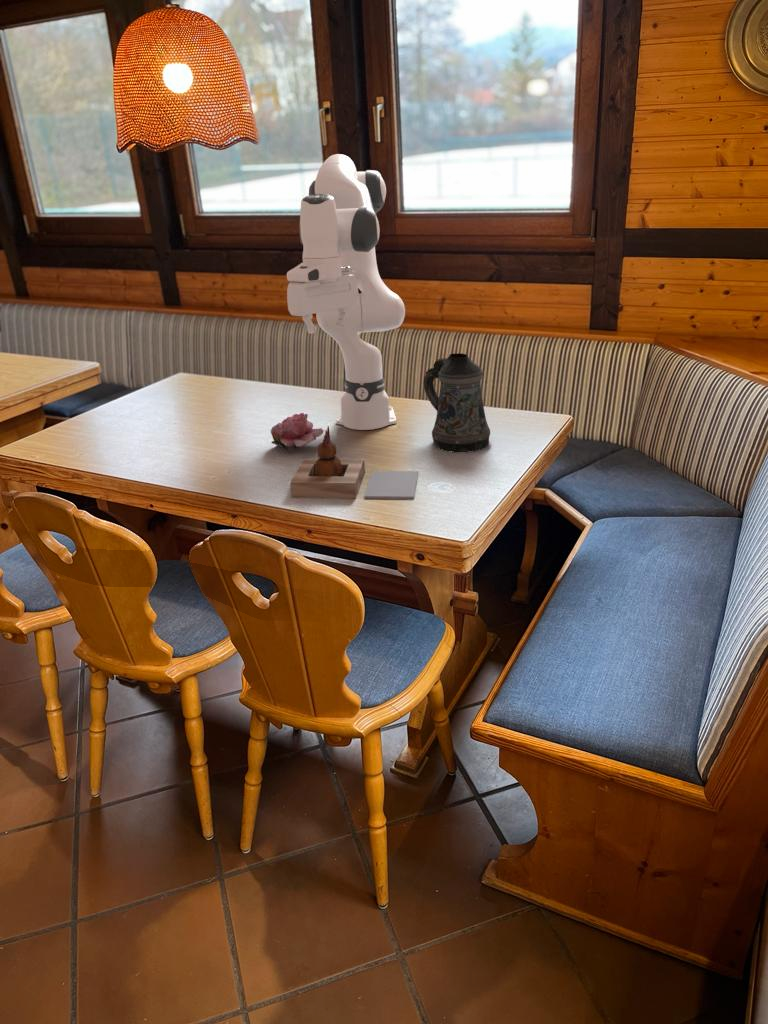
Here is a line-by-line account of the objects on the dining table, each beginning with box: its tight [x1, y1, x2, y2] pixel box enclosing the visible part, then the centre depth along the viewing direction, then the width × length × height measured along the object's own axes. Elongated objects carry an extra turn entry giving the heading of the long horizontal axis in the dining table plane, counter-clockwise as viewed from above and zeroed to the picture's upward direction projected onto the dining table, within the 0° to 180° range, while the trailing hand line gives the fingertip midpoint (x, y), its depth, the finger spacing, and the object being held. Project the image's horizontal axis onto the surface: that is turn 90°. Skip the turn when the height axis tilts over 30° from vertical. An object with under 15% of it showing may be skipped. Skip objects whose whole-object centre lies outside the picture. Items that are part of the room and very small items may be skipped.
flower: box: [270, 412, 325, 454], centre depth 214 cm, size 15×15×10 cm
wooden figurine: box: [315, 425, 342, 477], centre depth 188 cm, size 7×6×15 cm
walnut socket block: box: [289, 457, 366, 499], centre depth 190 cm, size 16×16×4 cm
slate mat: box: [363, 470, 420, 500], centre depth 189 cm, size 16×12×1 cm
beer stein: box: [423, 352, 491, 453], centre depth 210 cm, size 16×19×25 cm
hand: (326, 330), depth 181 cm, fingers open, 8 cm apart
